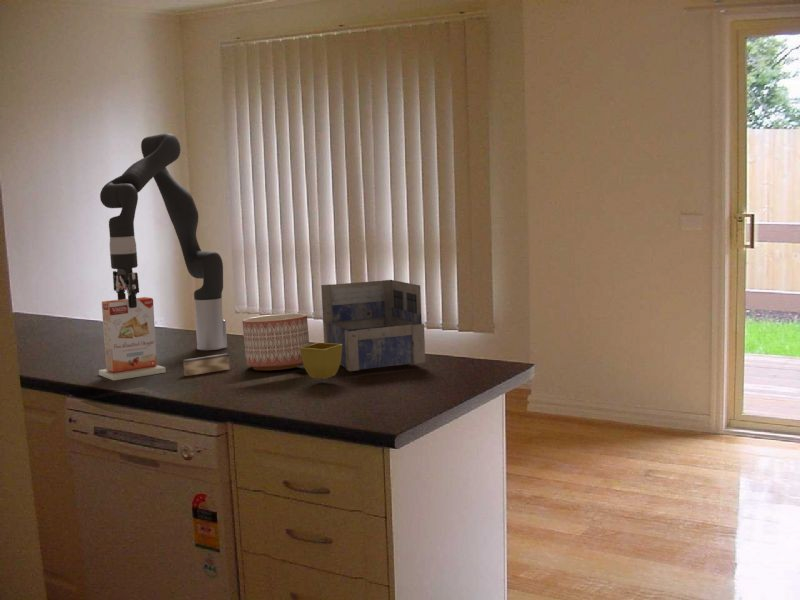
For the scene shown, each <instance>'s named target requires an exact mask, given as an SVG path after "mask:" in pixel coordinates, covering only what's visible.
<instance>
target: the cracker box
mask: <svg viewBox="0 0 800 600" xmlns="http://www.w3.org/2000/svg"><path fill="white" fill-rule="evenodd" d="M136 302H137V307H136V308H129V304H128V298H126V299H121V300H118V299H113V300H104V301H101V309H102V311H101V312H102V329H103V342H104V343H103V344H104V355H105V356H104V358H105V369H106V370H107V371H111V372H121V371H127V370H134V369H140V368H147V367H153V366H157V365H158V363H157V346H156V331H155V330H156V329H155V328H156V327H155V310H154V298H152V297H148V296H147V297H146V296H144V297H136Z"/></svg>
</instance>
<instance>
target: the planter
mask: <svg viewBox="0 0 800 600" xmlns="http://www.w3.org/2000/svg"><path fill="white" fill-rule="evenodd" d="M241 322H242V331H243V342H244V354H245V364H246V366H248V367H252V369H253V370H254V371H278V370H279V371H280V370H288V369H295V368H298V367H301V366H304V365H303V361H302V356H301V350H300V348H301V347H304V346H308V345H310V336H309V334H310V333H309V324H308V315H307V314H306V313H279V314H268V315H260V316H253V317H246V318H244V319H242V321H241Z"/></svg>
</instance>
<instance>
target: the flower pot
mask: <svg viewBox="0 0 800 600" xmlns="http://www.w3.org/2000/svg"><path fill="white" fill-rule="evenodd" d="M300 350H301V356H302V361H303V365H302V366H304V369H305V372H306V373H307V374H308V376H309V377H310V378H312V379H321V380H325V379H328V378H332V377H334V376H336V374H337V373H338V371H339V369H340V366H341V365H340V363H341V356H342V344H333V343H324V342H316V343H313V344H309V345H308V346H304V347H301V348H300Z"/></svg>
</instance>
